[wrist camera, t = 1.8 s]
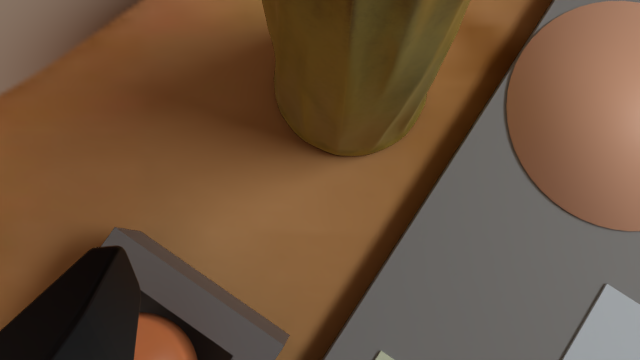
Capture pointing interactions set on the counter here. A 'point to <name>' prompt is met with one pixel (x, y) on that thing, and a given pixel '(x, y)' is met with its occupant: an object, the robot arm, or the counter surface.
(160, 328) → the button
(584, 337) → the picture board
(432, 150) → the counter surface
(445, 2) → the vase
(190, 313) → the button housing
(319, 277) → the counter surface
